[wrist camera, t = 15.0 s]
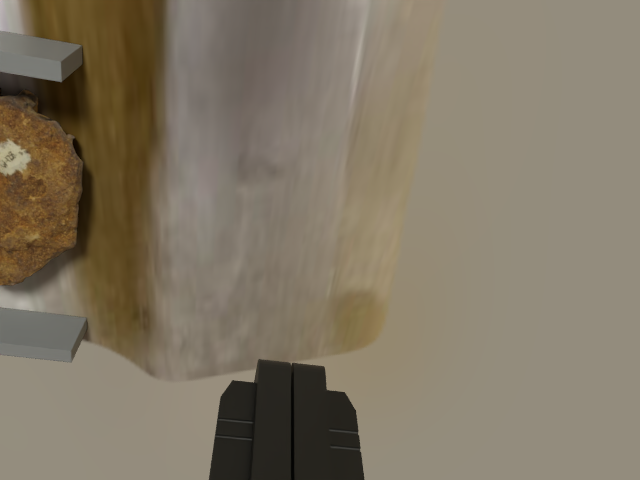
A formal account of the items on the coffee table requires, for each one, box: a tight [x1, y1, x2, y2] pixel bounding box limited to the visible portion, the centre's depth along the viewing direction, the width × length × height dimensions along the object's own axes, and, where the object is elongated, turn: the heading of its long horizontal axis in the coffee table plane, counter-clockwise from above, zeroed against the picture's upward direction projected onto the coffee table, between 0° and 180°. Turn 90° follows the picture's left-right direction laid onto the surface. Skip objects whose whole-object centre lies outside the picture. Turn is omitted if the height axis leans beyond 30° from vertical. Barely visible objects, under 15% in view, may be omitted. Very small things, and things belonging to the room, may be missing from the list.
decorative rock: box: [0, 88, 83, 286], centre depth 41 cm, size 11×4×15 cm
